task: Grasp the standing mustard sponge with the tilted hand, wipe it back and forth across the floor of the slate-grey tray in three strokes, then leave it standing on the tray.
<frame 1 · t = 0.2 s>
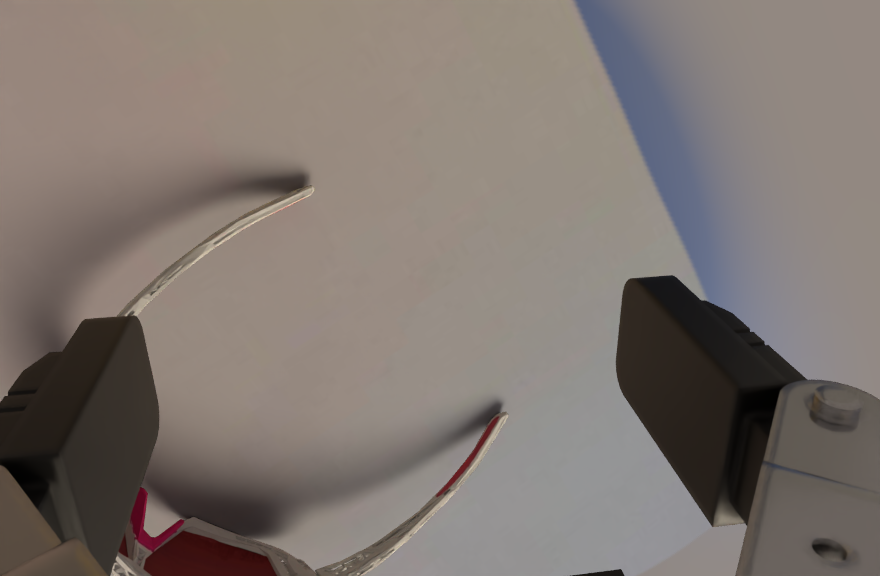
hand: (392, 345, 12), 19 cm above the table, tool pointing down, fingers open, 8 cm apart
sunglasses: (278, 406, 34), on the table
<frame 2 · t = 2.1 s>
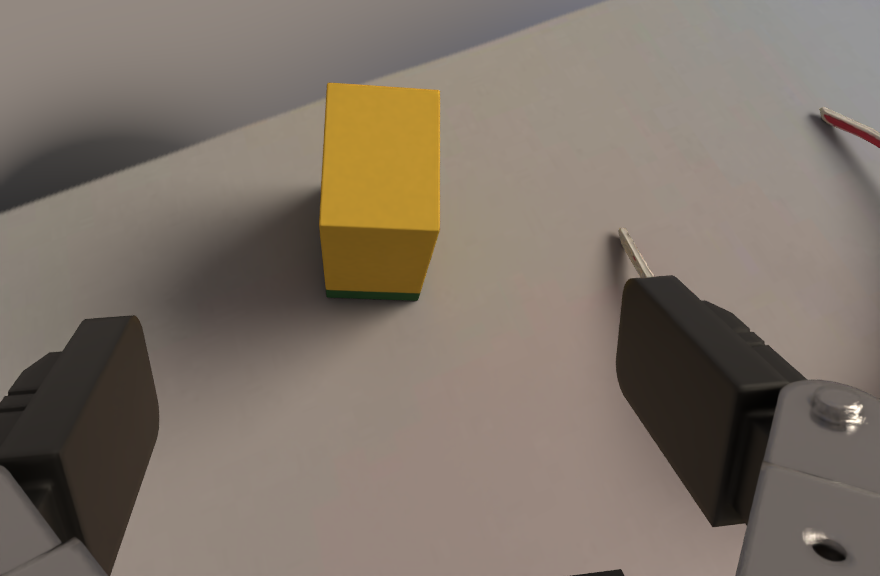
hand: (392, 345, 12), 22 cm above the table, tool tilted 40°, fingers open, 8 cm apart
sponge: (374, 241, 36), on the table
sunglasses: (816, 294, 38), on the table
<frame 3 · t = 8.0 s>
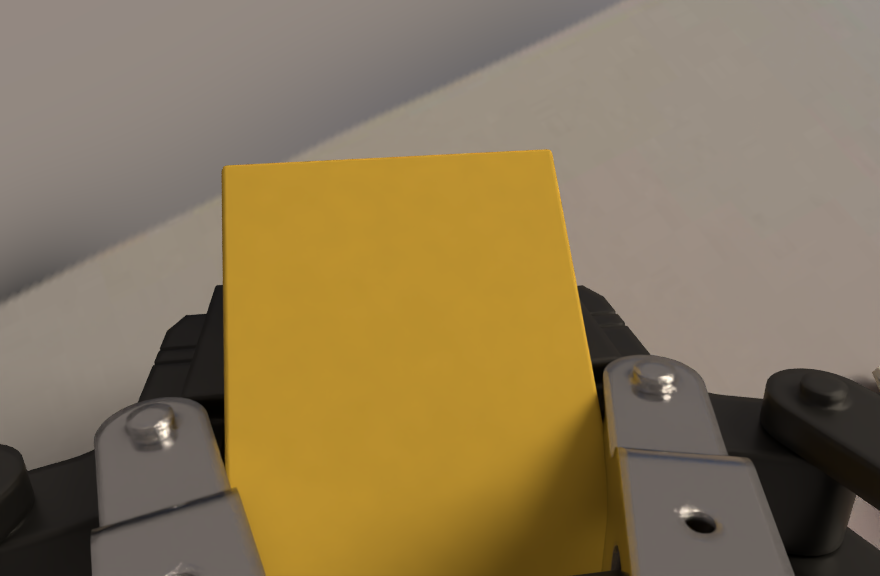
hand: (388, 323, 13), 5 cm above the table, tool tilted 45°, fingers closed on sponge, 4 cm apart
sponge: (391, 466, 17), on the table, touching gripper
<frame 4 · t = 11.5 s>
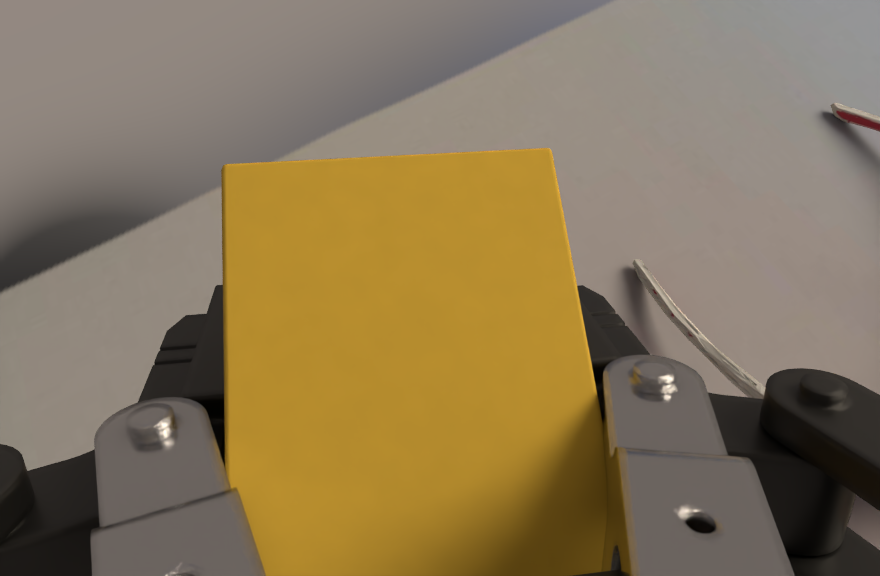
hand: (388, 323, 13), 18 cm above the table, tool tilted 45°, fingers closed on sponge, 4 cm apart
sponge: (391, 465, 17), point 13 cm above the table, touching gripper
sunglasses: (857, 308, 34), on the table
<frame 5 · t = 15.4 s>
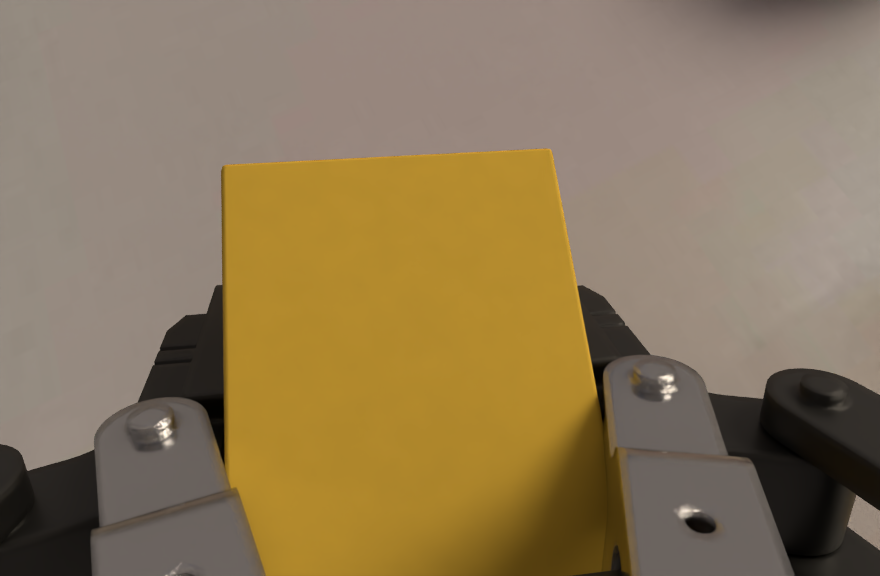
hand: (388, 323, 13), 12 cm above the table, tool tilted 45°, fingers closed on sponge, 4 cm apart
sponge: (391, 465, 17), point 7 cm above the table, touching gripper
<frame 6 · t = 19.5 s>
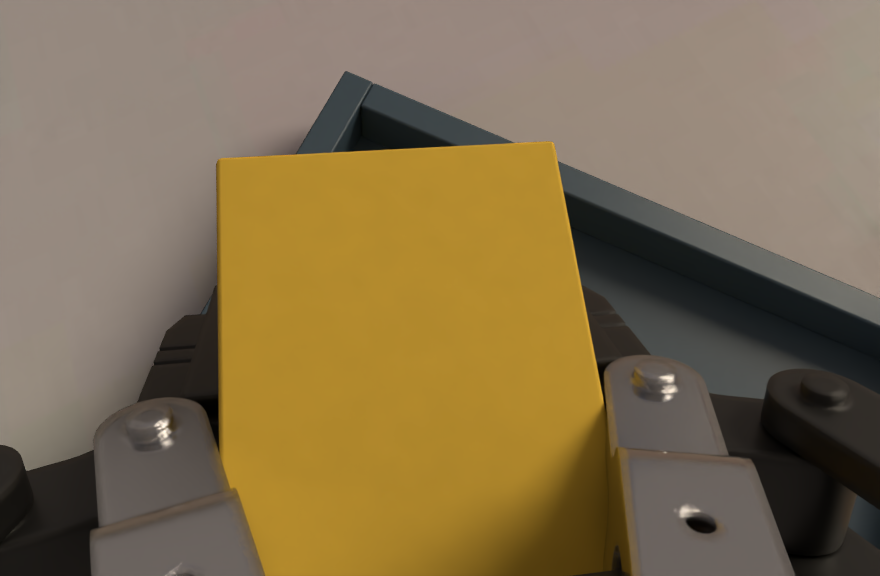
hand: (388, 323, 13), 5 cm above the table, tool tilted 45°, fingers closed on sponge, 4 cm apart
tray: (551, 469, 18), on the table
sponge: (391, 466, 17), point 1 cm above the table, touching gripper
when the fingers open (5 cm above the table, at t = 22.9 s): sponge stays where it is, resting on tray.
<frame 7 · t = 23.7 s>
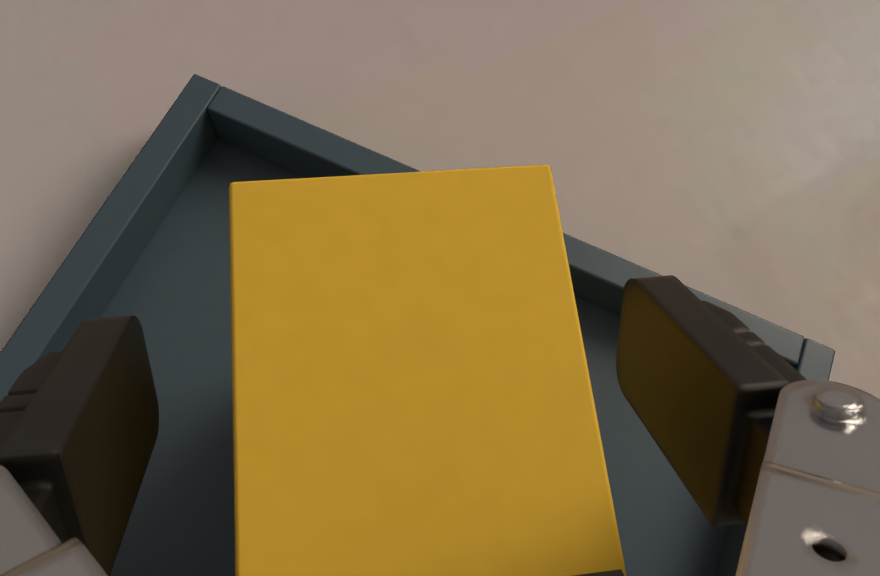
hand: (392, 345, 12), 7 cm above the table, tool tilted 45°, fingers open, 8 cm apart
tray: (389, 469, 18), on the table
sponge: (393, 470, 17), point 1 cm above the table, touching tray
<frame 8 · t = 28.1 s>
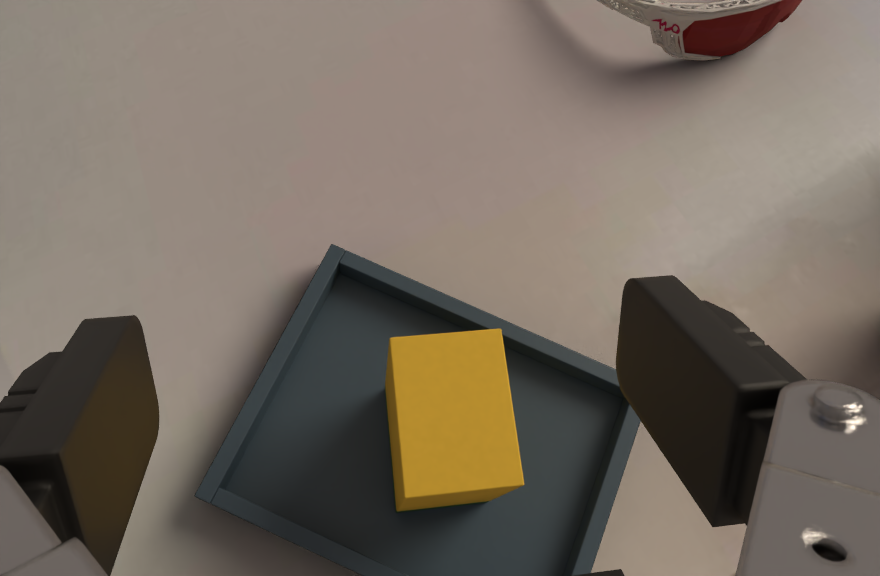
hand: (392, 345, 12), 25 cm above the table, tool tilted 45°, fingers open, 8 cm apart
tray: (432, 444, 36), on the table
sponge: (434, 444, 35), point 1 cm above the table, touching tray
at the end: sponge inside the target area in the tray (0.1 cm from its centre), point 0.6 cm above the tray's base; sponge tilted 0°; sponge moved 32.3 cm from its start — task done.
